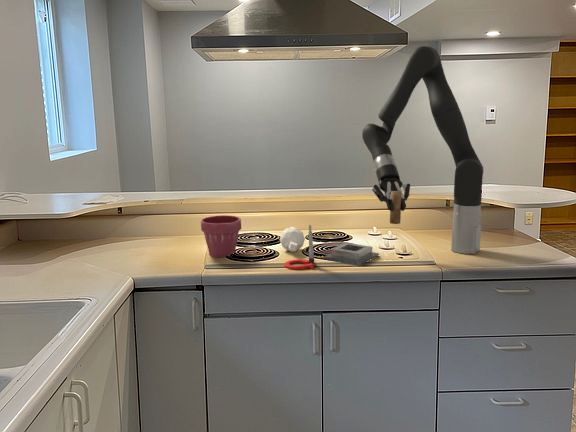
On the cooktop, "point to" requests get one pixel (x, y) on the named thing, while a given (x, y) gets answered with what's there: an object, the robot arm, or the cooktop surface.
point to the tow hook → (308, 263)
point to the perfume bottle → (292, 239)
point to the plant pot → (221, 234)
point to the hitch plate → (328, 257)
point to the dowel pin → (396, 207)
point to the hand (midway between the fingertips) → (397, 209)
